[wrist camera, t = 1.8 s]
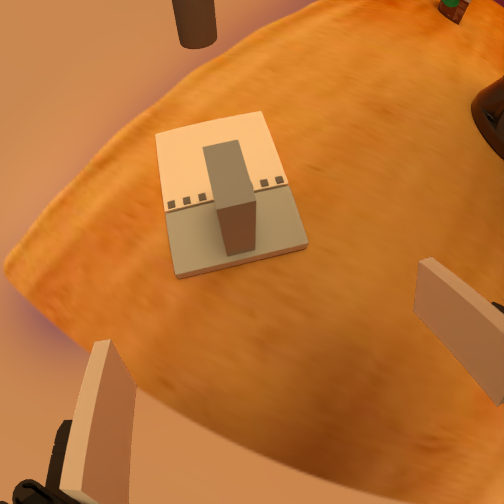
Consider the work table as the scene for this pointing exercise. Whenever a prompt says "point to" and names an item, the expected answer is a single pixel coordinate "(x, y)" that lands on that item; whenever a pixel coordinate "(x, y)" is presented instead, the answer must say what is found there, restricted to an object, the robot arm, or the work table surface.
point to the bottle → (195, 22)
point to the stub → (233, 219)
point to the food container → (453, 9)
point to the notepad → (194, 166)
